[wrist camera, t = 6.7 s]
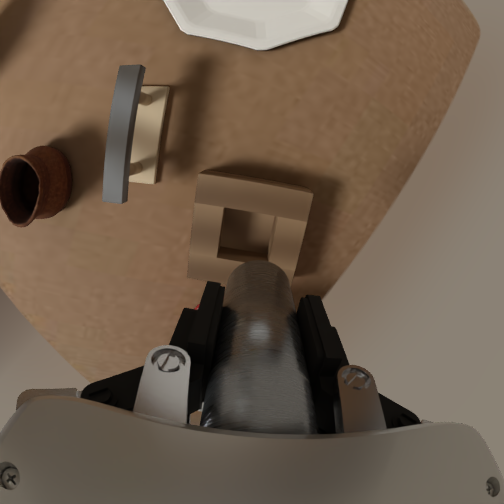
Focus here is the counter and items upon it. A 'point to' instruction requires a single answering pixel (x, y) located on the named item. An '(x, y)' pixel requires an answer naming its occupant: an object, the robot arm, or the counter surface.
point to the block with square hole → (245, 224)
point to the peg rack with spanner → (133, 133)
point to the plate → (256, 20)
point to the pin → (259, 358)
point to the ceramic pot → (35, 185)
